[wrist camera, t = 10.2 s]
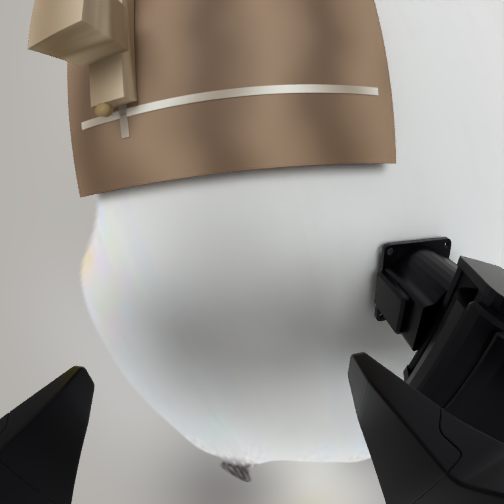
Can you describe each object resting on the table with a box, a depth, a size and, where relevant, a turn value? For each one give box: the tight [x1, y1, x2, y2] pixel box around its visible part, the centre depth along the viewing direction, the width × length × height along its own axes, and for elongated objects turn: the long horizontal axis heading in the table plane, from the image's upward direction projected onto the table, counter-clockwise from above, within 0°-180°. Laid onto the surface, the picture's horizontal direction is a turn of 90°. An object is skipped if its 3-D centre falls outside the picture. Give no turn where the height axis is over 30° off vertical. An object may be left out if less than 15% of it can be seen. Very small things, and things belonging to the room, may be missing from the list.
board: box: [67, 0, 396, 197], centre depth 14 cm, size 20×14×2 cm
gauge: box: [28, 0, 137, 117], centre depth 9 cm, size 3×13×9 cm, turn 6°
